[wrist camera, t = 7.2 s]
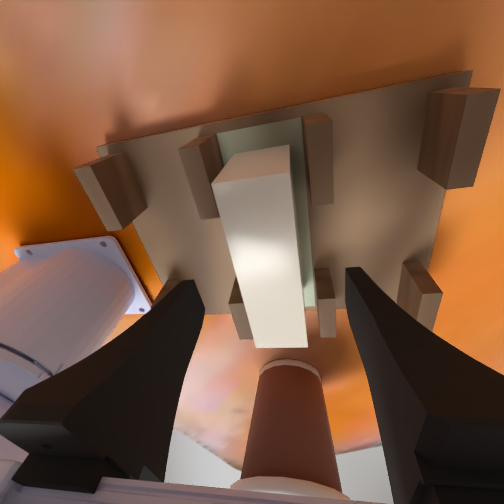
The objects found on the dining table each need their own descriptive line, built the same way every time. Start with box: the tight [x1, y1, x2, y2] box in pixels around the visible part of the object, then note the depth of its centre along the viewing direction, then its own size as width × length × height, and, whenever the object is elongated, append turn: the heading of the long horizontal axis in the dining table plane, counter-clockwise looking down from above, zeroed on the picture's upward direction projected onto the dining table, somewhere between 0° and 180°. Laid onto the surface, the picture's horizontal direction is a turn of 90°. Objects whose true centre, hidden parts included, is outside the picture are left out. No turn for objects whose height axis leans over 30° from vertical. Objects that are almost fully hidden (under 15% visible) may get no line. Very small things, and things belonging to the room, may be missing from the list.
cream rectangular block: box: [211, 144, 308, 348], centre depth 14 cm, size 3×10×5 cm, turn 10°
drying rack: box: [73, 70, 500, 339], centre depth 16 cm, size 19×14×4 cm
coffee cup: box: [230, 359, 350, 500], centre depth 22 cm, size 9×9×12 cm
